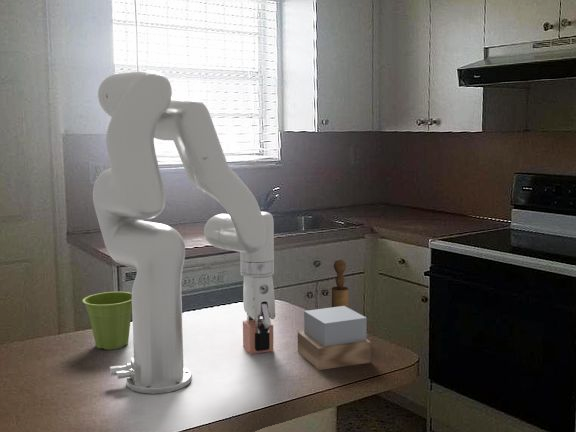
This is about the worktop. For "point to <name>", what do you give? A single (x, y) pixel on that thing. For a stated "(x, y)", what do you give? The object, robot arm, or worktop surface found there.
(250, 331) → the pink cube
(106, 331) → the plant pot
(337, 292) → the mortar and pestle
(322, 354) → the lower block
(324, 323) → the upper block
